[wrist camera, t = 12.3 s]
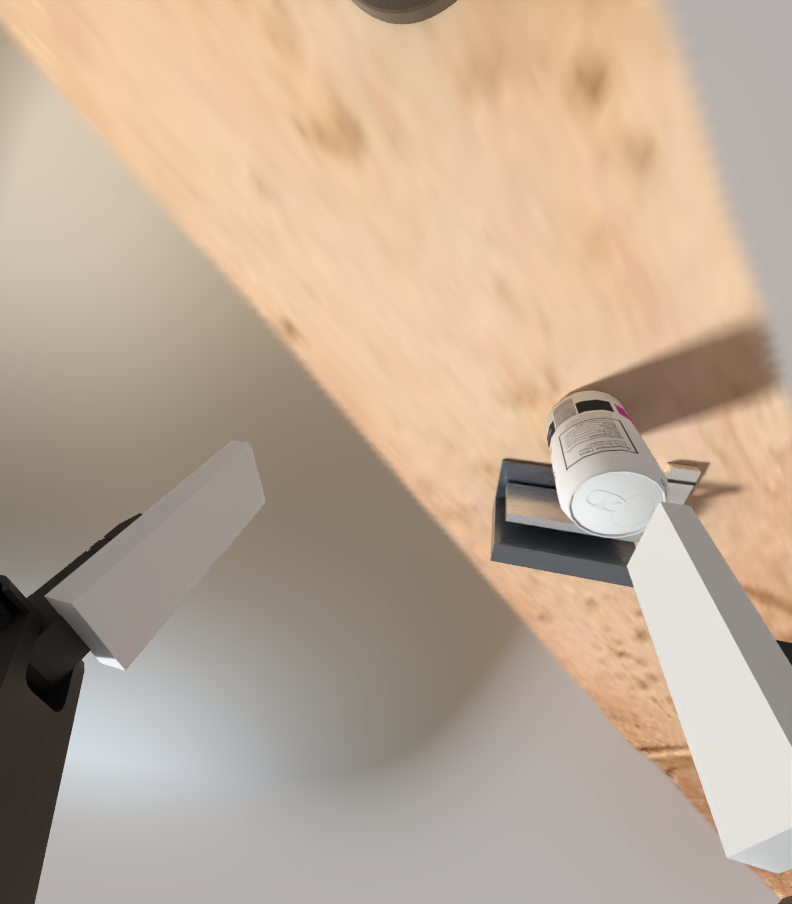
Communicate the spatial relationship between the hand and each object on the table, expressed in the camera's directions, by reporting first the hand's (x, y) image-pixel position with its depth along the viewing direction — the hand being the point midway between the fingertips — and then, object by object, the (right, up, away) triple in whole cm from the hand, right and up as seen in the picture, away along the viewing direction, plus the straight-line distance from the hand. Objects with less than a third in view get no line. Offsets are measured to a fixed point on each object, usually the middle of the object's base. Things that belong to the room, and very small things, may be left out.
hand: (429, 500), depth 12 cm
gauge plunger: (+23, -4, +34) cm, 41 cm away
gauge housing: (+23, -3, +34) cm, 41 cm away
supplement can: (+20, +5, +30) cm, 36 cm away
